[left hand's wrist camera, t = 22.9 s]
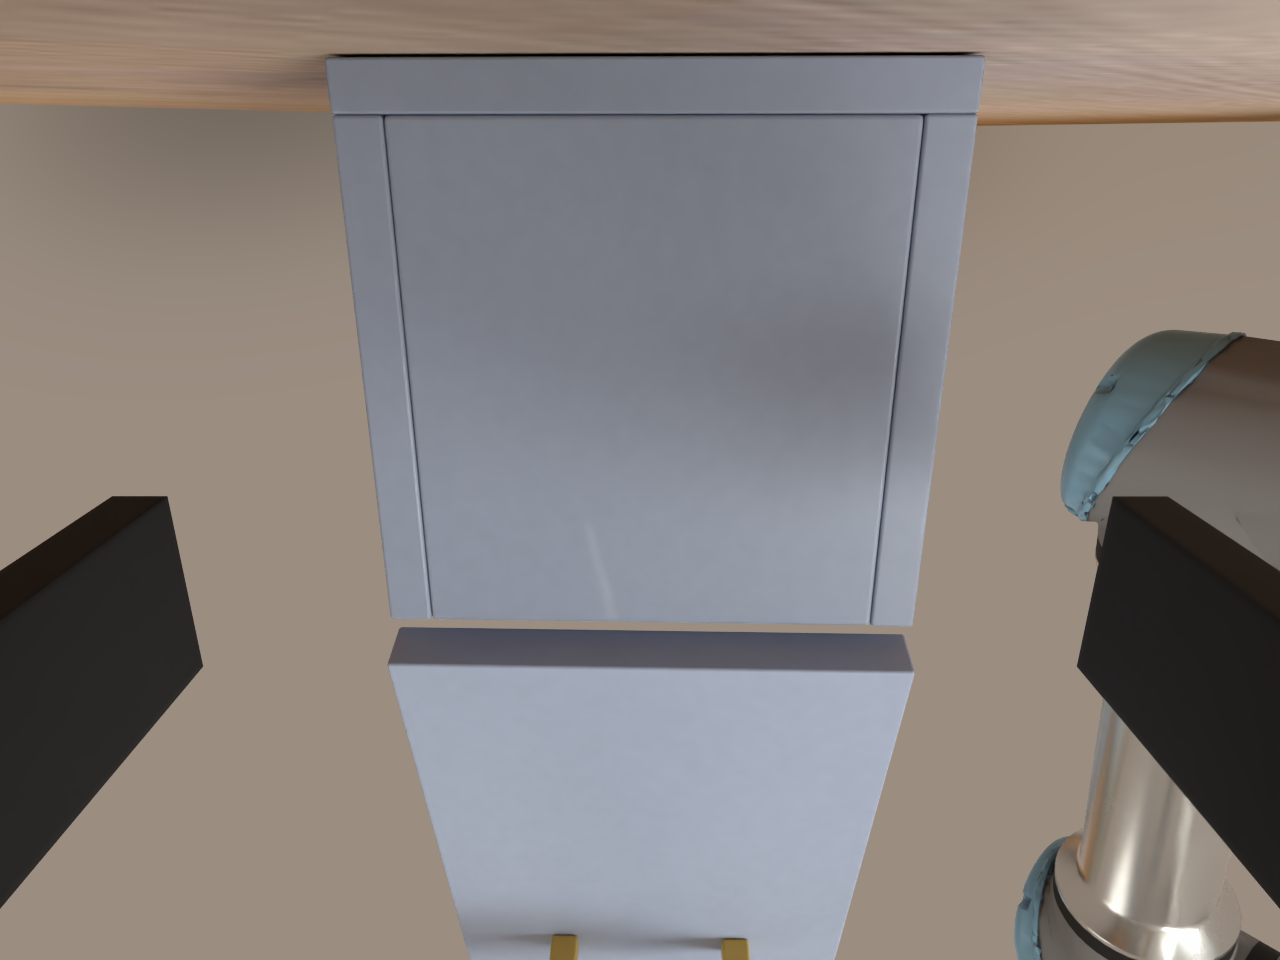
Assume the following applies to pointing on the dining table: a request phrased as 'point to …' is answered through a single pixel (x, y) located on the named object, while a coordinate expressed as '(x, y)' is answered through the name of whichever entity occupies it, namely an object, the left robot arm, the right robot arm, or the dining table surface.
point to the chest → (654, 328)
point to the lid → (650, 785)
